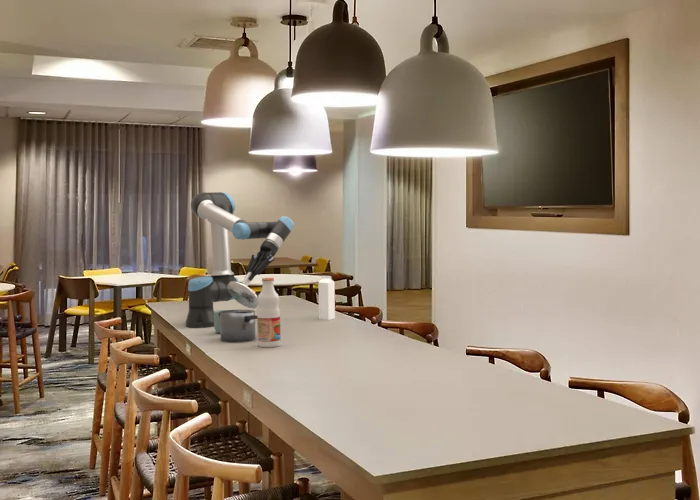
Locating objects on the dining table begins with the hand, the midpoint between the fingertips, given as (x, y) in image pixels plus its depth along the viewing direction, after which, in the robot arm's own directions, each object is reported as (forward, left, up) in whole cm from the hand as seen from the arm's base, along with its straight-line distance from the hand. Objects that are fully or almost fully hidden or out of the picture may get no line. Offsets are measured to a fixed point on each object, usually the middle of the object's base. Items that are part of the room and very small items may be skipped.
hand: (243, 285), depth 334 cm
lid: (+1, 0, -4) cm, 5 cm away
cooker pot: (+4, 0, -23) cm, 24 cm away
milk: (-63, -10, -23) cm, 68 cm away
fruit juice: (+6, +22, -23) cm, 33 cm away
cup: (-3, -19, -23) cm, 30 cm away
